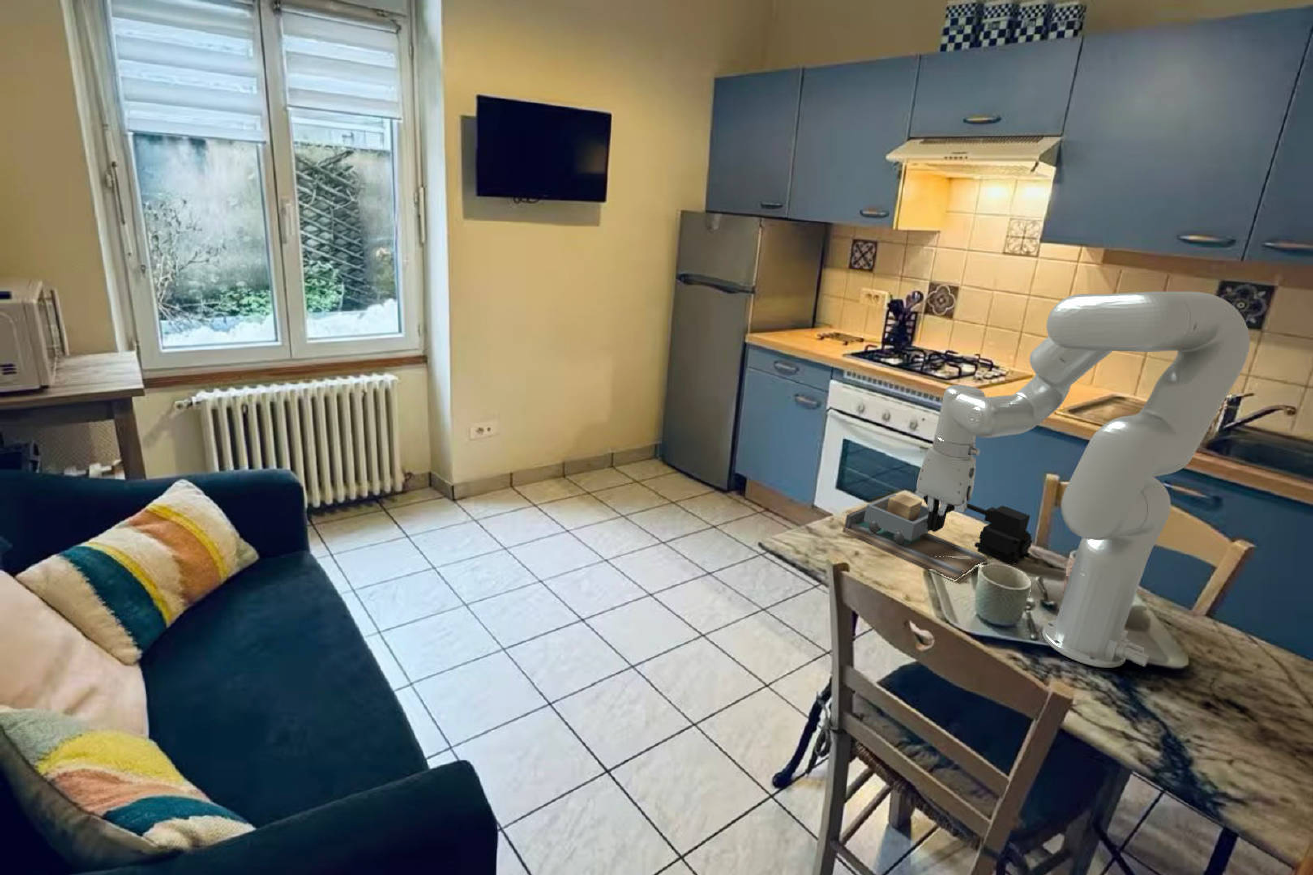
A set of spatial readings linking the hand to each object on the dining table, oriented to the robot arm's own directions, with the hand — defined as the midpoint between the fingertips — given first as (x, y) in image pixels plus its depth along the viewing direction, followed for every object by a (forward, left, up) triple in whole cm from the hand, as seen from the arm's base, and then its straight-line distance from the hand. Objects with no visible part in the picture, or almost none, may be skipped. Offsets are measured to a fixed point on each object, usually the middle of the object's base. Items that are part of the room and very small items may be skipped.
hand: (934, 528), depth 150 cm
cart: (+7, 0, -4) cm, 8 cm away
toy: (-7, -13, -6) cm, 16 cm away
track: (+4, 0, -6) cm, 7 cm away
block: (+7, 0, -1) cm, 7 cm away
